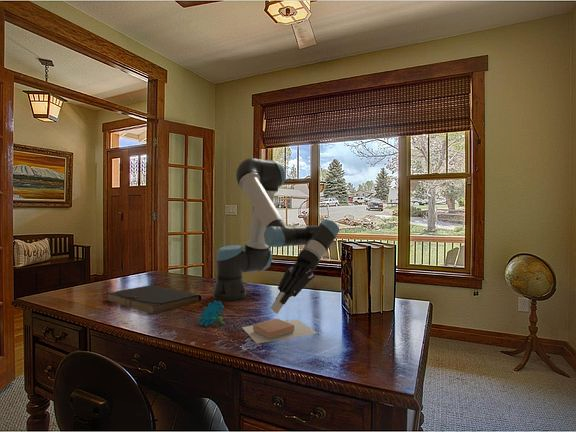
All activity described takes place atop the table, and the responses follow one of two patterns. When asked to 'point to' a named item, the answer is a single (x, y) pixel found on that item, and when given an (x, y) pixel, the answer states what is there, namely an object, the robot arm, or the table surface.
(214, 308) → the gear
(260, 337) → the felt mat
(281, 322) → the tile
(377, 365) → the table surface
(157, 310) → the dark hardcover book
